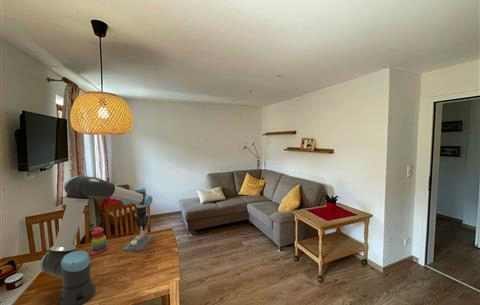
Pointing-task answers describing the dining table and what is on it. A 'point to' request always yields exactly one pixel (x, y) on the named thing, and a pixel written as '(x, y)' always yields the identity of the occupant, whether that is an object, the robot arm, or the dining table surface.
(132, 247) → the board
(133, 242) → the button one
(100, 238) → the stacking bear
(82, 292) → the robot arm
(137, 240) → the button two
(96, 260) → the dining table surface
